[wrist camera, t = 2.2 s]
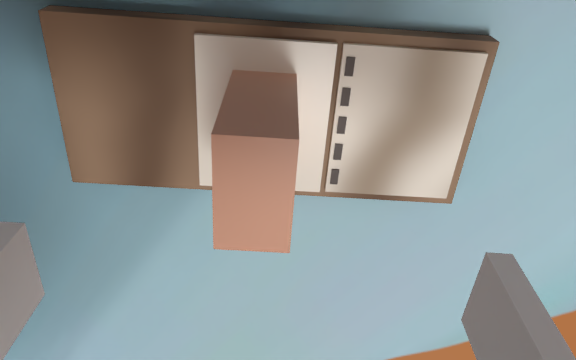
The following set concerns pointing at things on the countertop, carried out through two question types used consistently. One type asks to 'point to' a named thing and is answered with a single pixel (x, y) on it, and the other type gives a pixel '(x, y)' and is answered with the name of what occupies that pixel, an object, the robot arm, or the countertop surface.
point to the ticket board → (350, 50)
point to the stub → (260, 132)
